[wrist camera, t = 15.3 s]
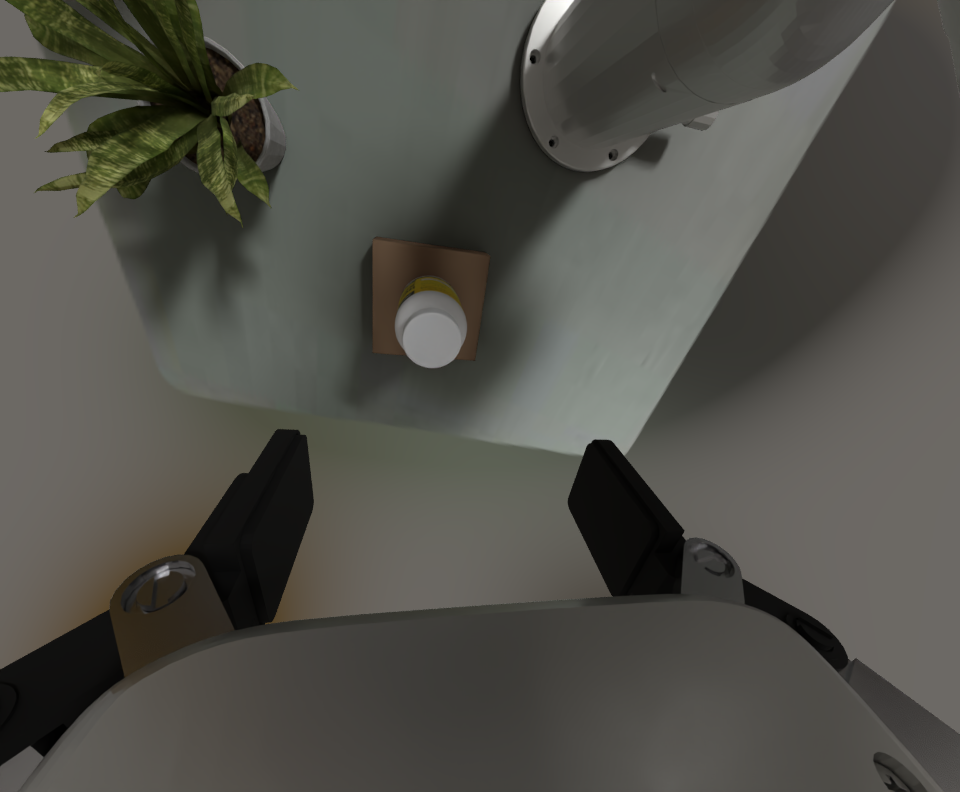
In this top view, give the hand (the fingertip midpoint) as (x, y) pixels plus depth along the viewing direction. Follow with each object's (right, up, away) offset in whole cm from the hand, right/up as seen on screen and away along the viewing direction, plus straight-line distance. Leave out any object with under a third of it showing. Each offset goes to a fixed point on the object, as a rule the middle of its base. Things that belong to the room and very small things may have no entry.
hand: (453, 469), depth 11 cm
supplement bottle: (-4, +11, +20) cm, 23 cm away
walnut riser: (-4, +12, +23) cm, 26 cm away
